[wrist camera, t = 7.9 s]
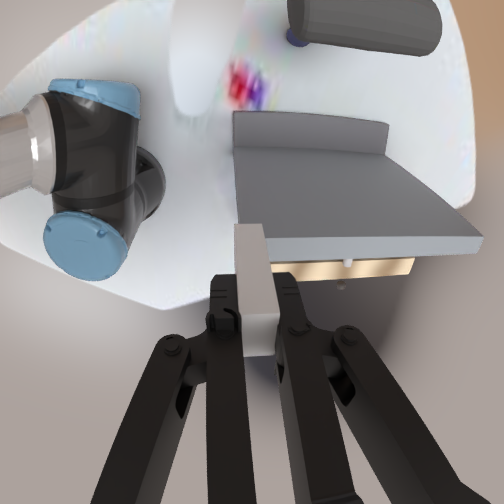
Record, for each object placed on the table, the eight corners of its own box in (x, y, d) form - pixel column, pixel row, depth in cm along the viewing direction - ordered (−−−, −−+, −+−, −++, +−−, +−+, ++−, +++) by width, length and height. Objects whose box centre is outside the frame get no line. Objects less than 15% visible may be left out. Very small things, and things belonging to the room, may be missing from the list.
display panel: (233, 193, 54) (241, 317, 29) (233, 111, 45) (242, 168, 21) (372, 195, 56) (455, 296, 32) (385, 123, 47) (500, 190, 23)
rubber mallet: (260, 58, 40) (307, 41, 15) (257, 17, 35) (298, -48, 11) (333, 58, 40) (450, 64, 16) (331, 19, 36) (445, -13, 11)
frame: (245, 225, 52) (254, 294, 38) (245, 207, 50) (254, 273, 36) (369, 224, 54) (412, 283, 40) (373, 207, 52) (419, 264, 38)
